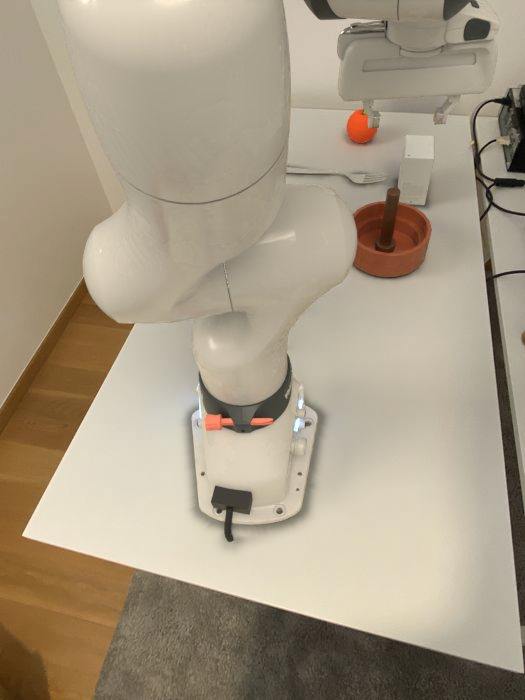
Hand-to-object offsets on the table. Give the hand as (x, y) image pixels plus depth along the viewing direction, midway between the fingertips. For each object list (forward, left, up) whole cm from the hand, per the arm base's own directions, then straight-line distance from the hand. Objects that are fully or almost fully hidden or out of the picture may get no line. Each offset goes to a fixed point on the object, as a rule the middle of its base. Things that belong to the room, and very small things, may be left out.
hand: (405, 124), depth 73 cm
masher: (0, 0, -24) cm, 24 cm away
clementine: (+37, +1, -25) cm, 45 cm away
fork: (+24, +9, -25) cm, 36 cm away
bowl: (0, 0, -25) cm, 25 cm away
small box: (+17, -7, -25) cm, 31 cm away
